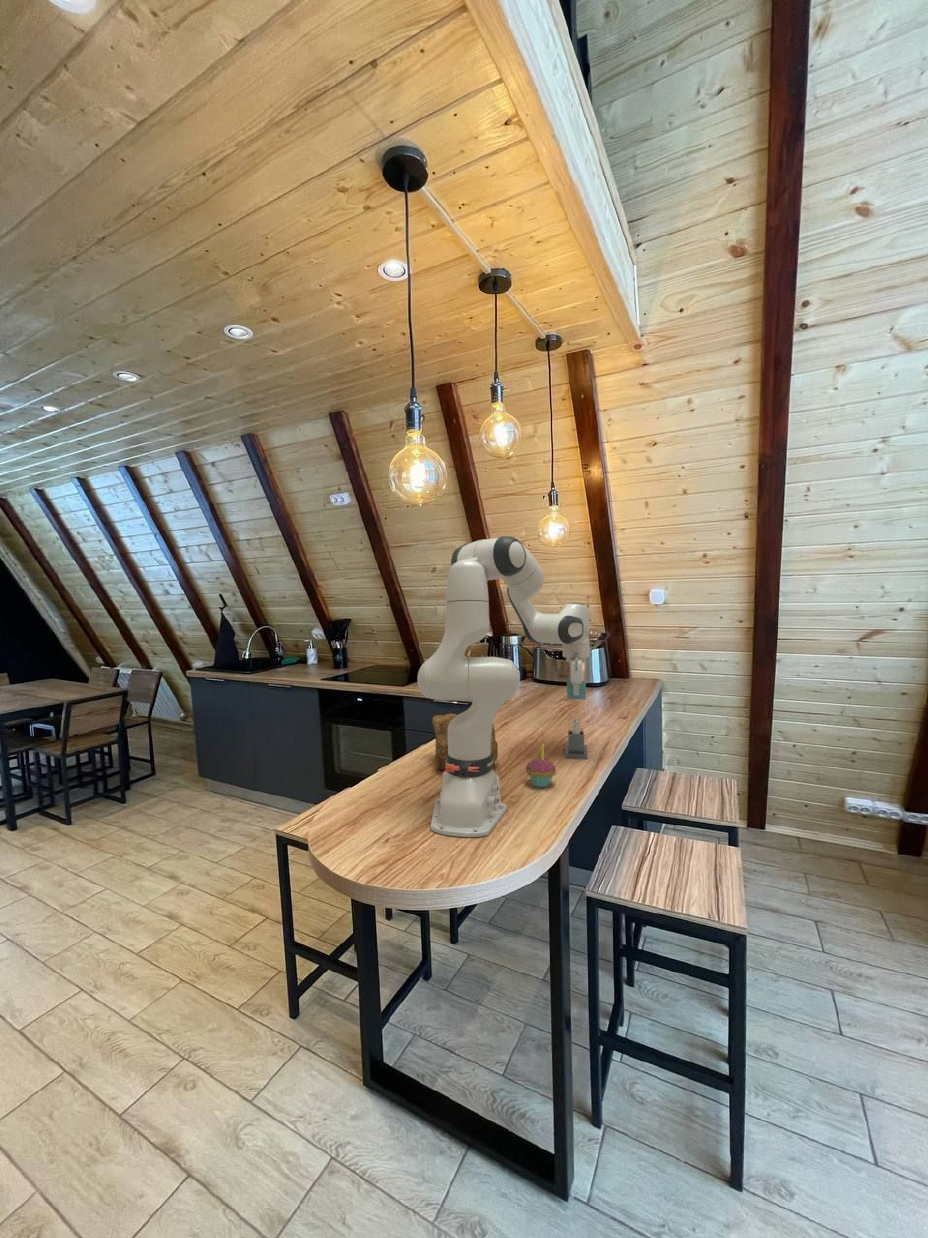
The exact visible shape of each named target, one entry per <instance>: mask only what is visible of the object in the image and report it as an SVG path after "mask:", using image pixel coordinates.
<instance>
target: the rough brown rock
mask: <svg viewBox="0 0 928 1238" xmlns="http://www.w3.org/2000/svg"><path fill="white" fill-rule="evenodd" d="M457 715H458V714H456V713H449V714H448V713H447V714H444V715H443V714H438V715H437V714H436V715H433V717H432V722H431V723H432V725H433V728H434V729H433V730H434V735H435V759H436V763H437V768H438V770H445V767H446V757H447V753H448V725H449V723H450V721H451V720H452V719H453V718H454V717H456V716H457ZM495 732H496V731H495V725H494V724H493V725H492V734H491V752H492V753H493V765H494V764H495V763H496V761H497V759H498V757H499V751H498V750H499V749H498V741H496V733H495Z"/></svg>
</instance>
